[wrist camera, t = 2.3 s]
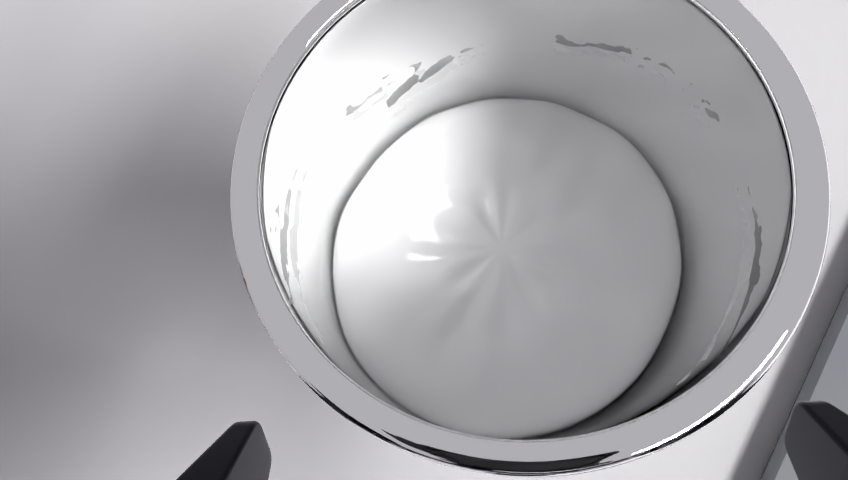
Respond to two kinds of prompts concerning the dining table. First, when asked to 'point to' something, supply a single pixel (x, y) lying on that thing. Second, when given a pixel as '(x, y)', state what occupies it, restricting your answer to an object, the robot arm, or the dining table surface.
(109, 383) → the dining table surface
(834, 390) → the base plate
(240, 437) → the robot arm
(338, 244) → the beer glass
